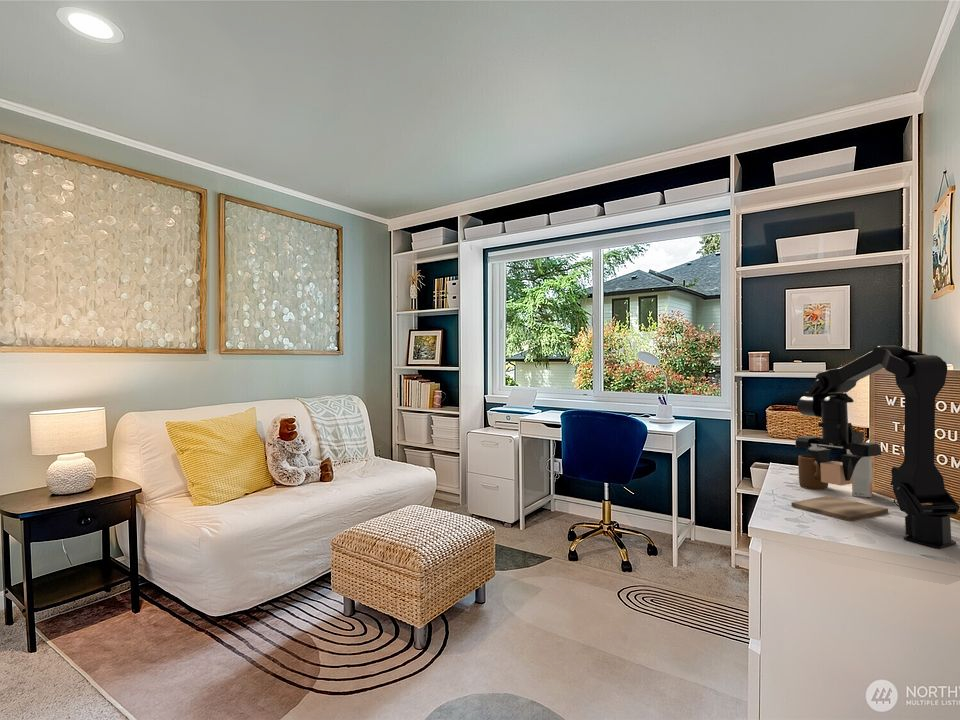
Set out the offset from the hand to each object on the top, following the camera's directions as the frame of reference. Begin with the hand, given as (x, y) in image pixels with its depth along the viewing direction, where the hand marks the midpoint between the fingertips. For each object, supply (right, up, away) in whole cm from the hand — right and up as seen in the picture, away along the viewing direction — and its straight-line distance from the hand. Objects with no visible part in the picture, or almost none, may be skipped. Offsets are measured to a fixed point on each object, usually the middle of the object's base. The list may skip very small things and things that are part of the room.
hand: (837, 478), depth 134 cm
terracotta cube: (0, -1, 0) cm, 1 cm away
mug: (+9, -8, +22) cm, 25 cm away
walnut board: (0, -8, 0) cm, 8 cm away
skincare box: (+17, -8, +13) cm, 22 cm away
